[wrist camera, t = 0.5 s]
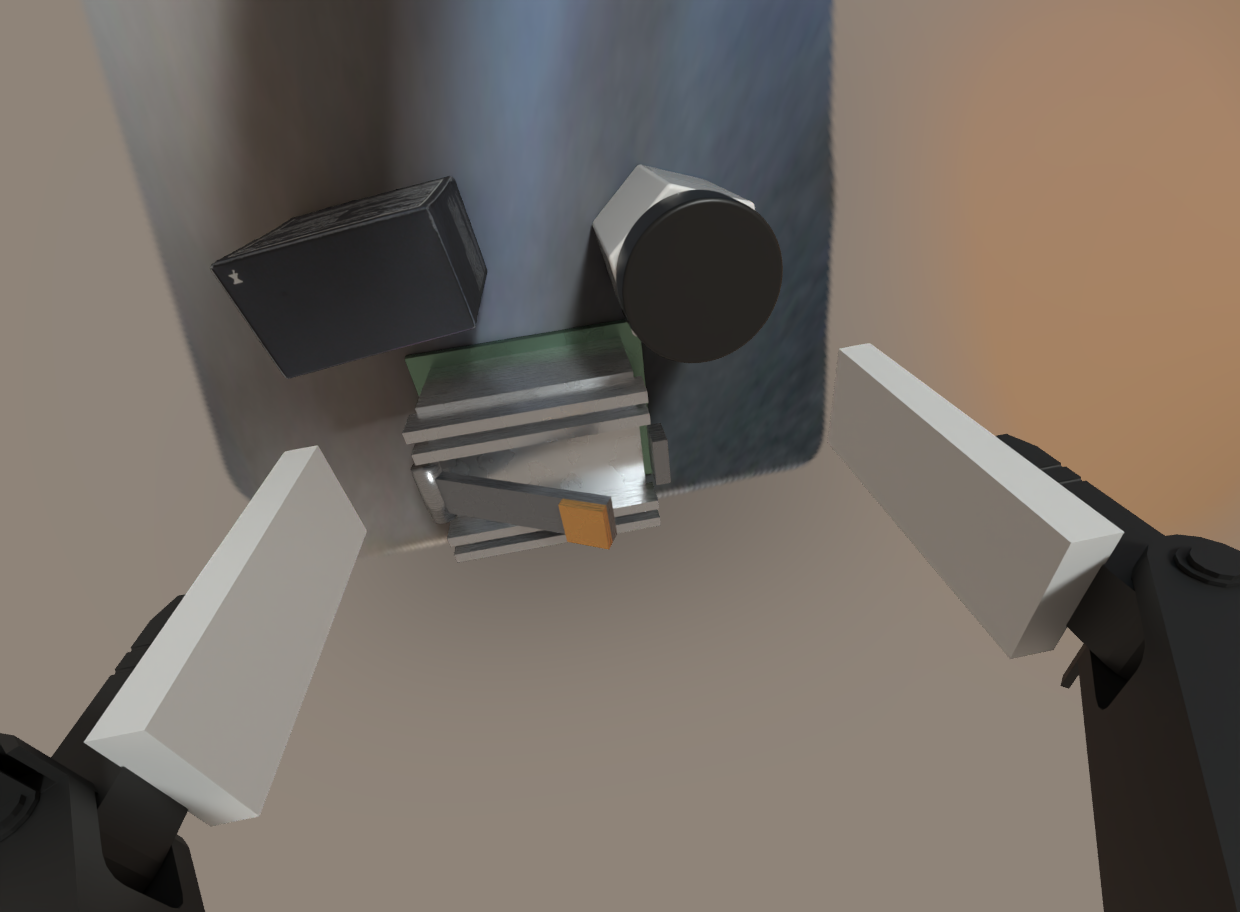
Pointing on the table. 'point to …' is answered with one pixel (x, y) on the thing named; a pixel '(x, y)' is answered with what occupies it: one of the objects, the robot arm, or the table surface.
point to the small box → (359, 278)
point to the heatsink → (541, 426)
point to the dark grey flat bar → (517, 505)
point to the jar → (688, 264)
